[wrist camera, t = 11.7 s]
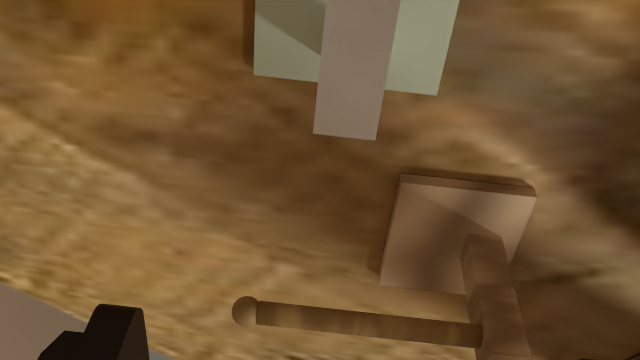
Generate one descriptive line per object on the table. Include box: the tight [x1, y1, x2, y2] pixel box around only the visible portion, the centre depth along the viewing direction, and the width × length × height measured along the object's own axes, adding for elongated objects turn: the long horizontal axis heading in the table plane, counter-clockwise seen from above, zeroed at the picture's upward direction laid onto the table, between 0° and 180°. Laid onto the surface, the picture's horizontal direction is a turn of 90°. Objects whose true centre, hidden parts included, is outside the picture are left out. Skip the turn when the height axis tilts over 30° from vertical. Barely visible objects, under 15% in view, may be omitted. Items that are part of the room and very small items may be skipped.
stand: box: [232, 173, 537, 360], centre depth 40 cm, size 19×10×11 cm, turn 85°
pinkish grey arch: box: [313, 0, 401, 141], centre depth 30 cm, size 3×8×8 cm, turn 175°
